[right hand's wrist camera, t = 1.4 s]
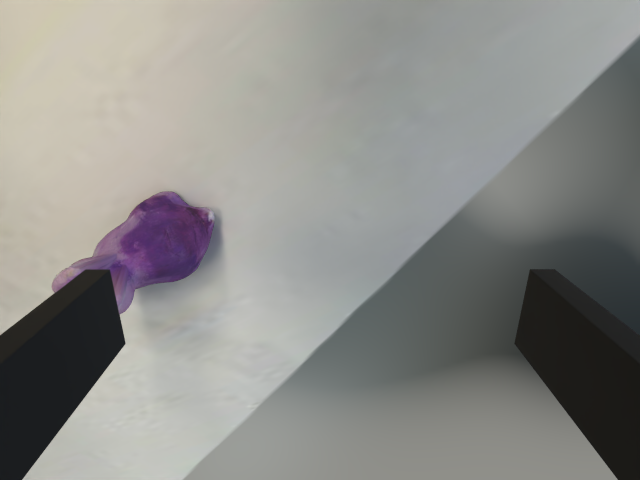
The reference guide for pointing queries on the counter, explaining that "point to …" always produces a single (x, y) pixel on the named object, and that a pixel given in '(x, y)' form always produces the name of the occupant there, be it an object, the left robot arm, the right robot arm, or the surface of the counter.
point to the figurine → (149, 247)
